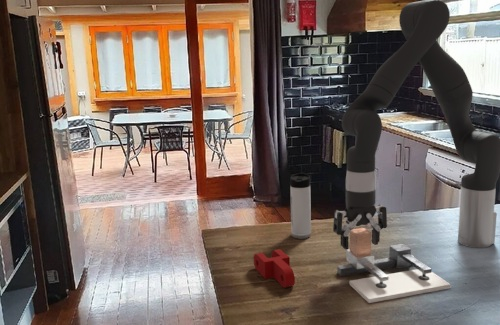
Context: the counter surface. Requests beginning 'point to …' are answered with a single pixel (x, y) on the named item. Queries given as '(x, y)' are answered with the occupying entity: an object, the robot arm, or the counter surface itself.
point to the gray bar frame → (390, 262)
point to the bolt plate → (398, 285)
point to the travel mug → (300, 206)
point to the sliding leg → (363, 253)
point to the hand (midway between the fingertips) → (360, 246)
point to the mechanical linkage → (275, 267)
